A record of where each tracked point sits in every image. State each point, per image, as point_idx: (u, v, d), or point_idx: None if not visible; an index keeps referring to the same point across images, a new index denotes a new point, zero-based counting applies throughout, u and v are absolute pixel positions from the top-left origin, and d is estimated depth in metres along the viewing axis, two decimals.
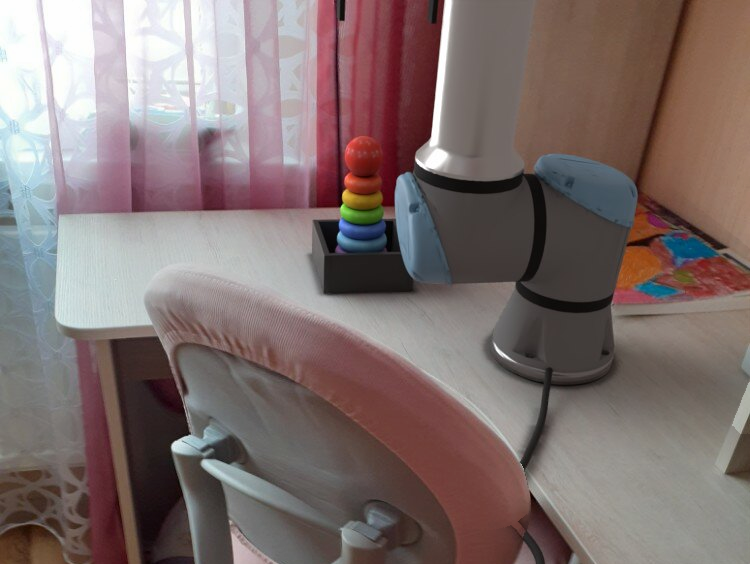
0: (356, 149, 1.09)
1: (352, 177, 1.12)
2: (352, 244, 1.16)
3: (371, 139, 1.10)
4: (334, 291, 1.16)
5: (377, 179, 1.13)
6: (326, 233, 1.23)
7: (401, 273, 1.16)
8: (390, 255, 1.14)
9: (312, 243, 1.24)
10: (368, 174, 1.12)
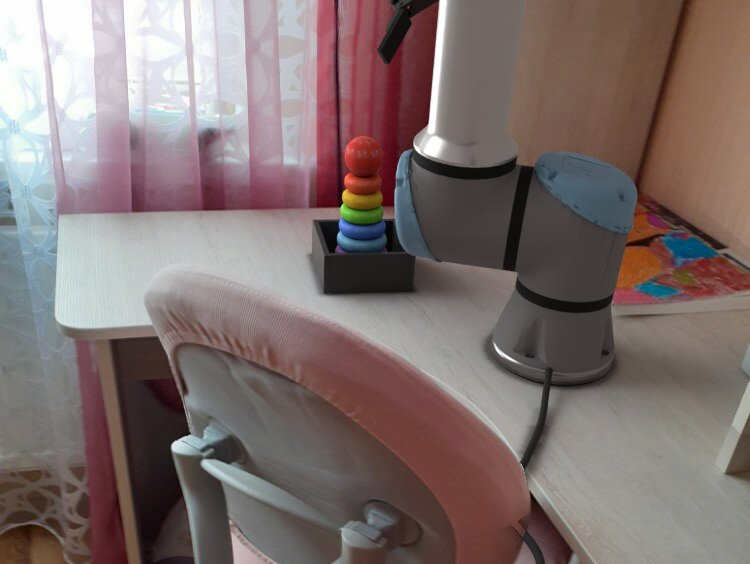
0: (356, 148, 1.09)
1: (351, 177, 1.12)
2: (352, 244, 1.16)
3: (371, 139, 1.10)
4: (334, 291, 1.16)
5: (377, 178, 1.13)
6: (326, 233, 1.23)
7: (401, 273, 1.16)
8: (390, 255, 1.14)
9: (312, 243, 1.24)
10: (368, 174, 1.12)
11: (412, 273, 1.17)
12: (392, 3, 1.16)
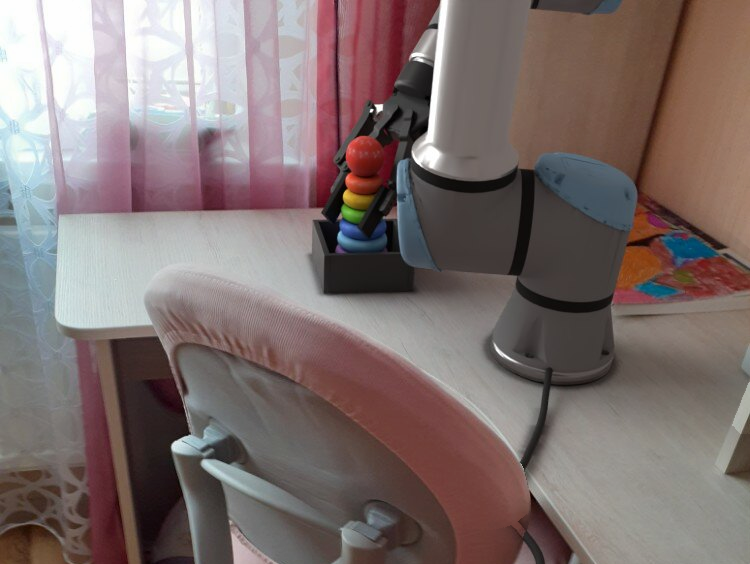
0: (358, 149, 1.09)
1: (353, 177, 1.12)
2: (353, 244, 1.16)
3: (372, 139, 1.10)
4: (334, 291, 1.16)
5: (378, 179, 1.12)
6: (326, 233, 1.23)
7: (401, 273, 1.16)
8: (390, 255, 1.14)
9: (312, 243, 1.24)
10: (369, 174, 1.12)
11: (412, 273, 1.17)
12: (339, 164, 1.17)
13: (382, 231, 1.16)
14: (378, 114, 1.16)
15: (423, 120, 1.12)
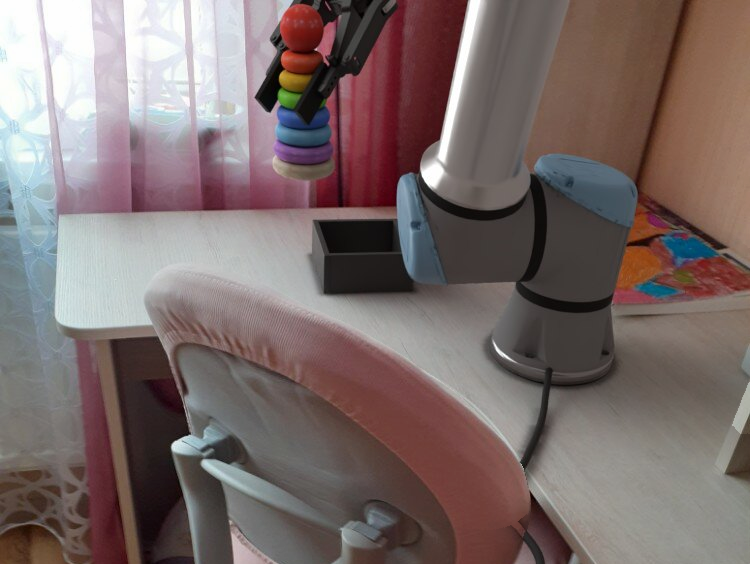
0: (292, 17, 0.95)
1: (288, 53, 0.98)
2: (291, 134, 1.02)
3: (309, 7, 0.96)
4: (334, 291, 1.16)
5: (318, 55, 0.99)
6: (326, 233, 1.23)
7: (401, 273, 1.16)
8: (390, 255, 1.14)
9: (312, 243, 1.24)
10: (307, 49, 0.98)
11: None
12: (276, 43, 1.03)
13: (324, 119, 1.02)
14: None
15: None
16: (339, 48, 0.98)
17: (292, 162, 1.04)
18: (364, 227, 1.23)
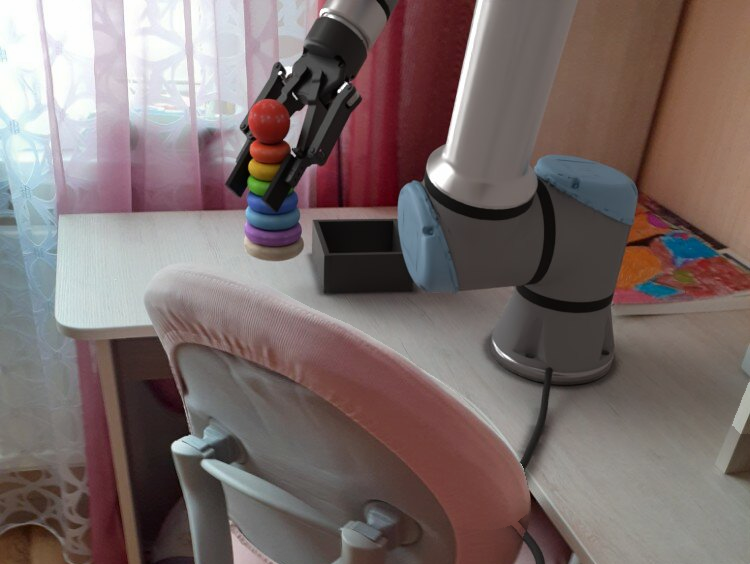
0: (259, 113, 1.00)
1: (257, 144, 1.03)
2: (260, 219, 1.06)
3: (276, 102, 1.00)
4: (334, 291, 1.16)
5: (285, 146, 1.03)
6: (326, 233, 1.23)
7: (401, 273, 1.16)
8: (390, 255, 1.14)
9: (312, 243, 1.24)
10: (274, 141, 1.02)
11: None
12: (245, 131, 1.07)
13: (292, 205, 1.07)
14: (288, 77, 1.07)
15: (333, 82, 1.02)
16: (305, 140, 1.02)
17: (262, 244, 1.08)
18: (364, 227, 1.23)
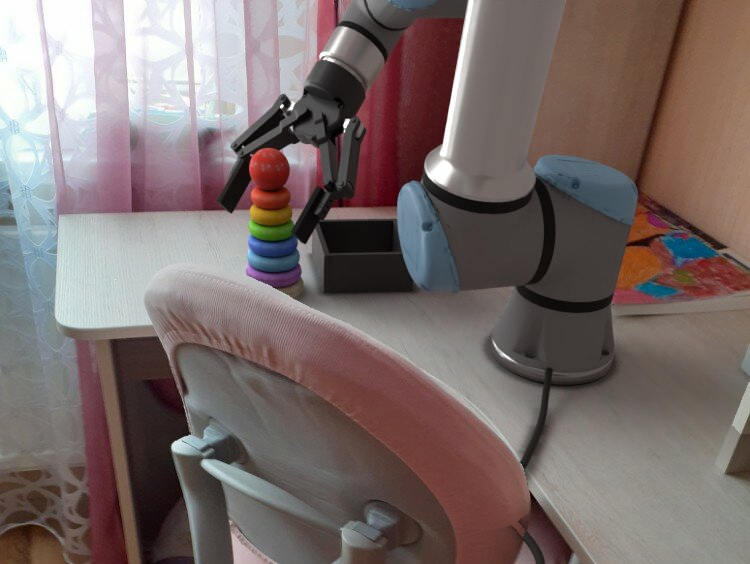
0: (260, 161, 1.03)
1: (257, 191, 1.06)
2: (261, 262, 1.10)
3: (276, 151, 1.04)
4: (334, 291, 1.16)
5: (285, 193, 1.07)
6: (326, 233, 1.23)
7: (401, 273, 1.16)
8: (390, 255, 1.14)
9: (312, 243, 1.24)
10: (274, 188, 1.06)
11: None
12: (234, 151, 1.12)
13: (292, 247, 1.10)
14: (288, 112, 1.10)
15: (333, 123, 1.05)
16: (330, 173, 1.03)
17: None
18: (364, 227, 1.23)
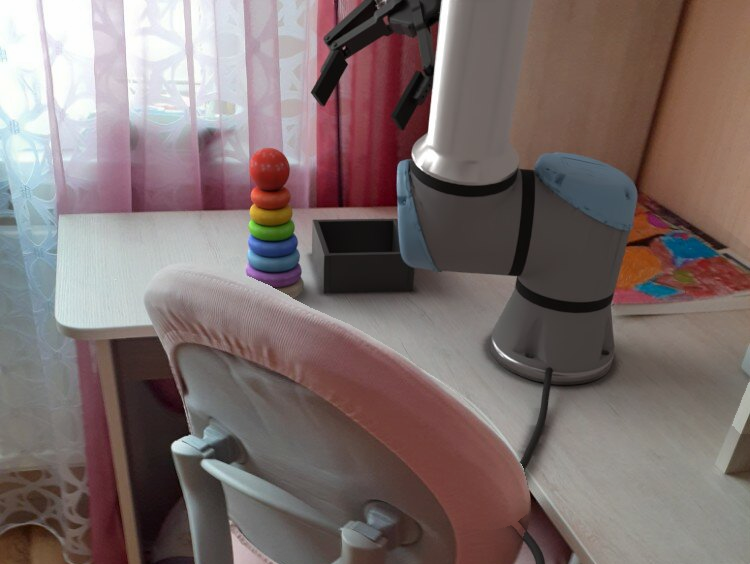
0: (259, 161, 1.03)
1: (257, 191, 1.06)
2: (261, 262, 1.10)
3: (276, 151, 1.04)
4: (334, 291, 1.16)
5: (285, 193, 1.07)
6: (326, 233, 1.23)
7: (401, 273, 1.16)
8: (390, 255, 1.14)
9: (312, 243, 1.24)
10: (274, 188, 1.06)
11: (412, 273, 1.17)
12: (327, 44, 1.13)
13: (292, 247, 1.10)
14: (382, 4, 1.11)
15: (430, 10, 1.07)
16: (429, 58, 1.05)
17: None
18: (364, 227, 1.23)
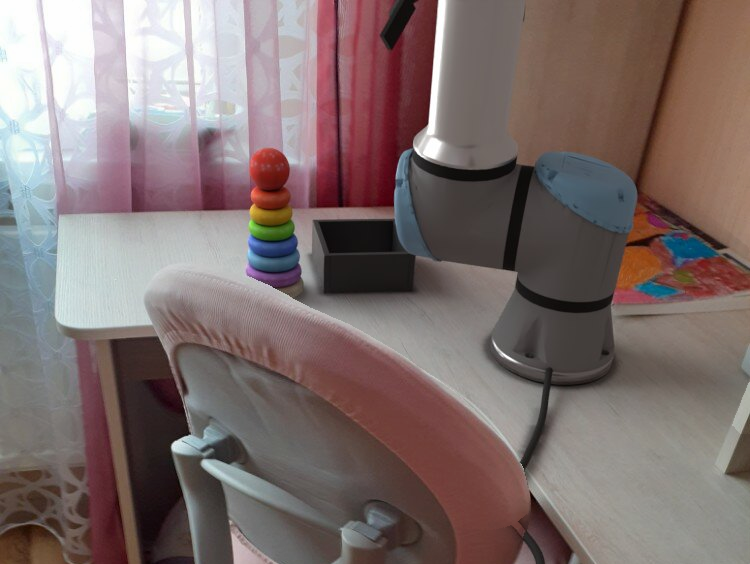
0: (259, 161, 1.03)
1: (257, 191, 1.06)
2: (261, 262, 1.10)
3: (276, 151, 1.04)
4: (334, 291, 1.16)
5: (285, 193, 1.07)
6: (326, 233, 1.23)
7: (401, 273, 1.16)
8: (390, 255, 1.14)
9: (312, 243, 1.24)
10: (274, 188, 1.06)
11: (412, 273, 1.17)
12: None
13: (292, 247, 1.10)
14: None
15: None
16: None
17: None
18: (364, 227, 1.23)
